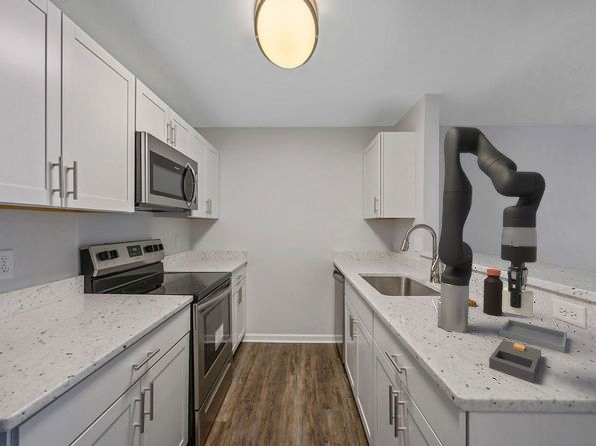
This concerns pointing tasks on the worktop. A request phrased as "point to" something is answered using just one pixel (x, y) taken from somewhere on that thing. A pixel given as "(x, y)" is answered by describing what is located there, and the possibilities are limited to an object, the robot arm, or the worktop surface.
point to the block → (525, 303)
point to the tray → (534, 335)
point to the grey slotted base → (516, 360)
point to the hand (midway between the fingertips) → (517, 305)
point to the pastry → (472, 303)
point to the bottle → (493, 293)
